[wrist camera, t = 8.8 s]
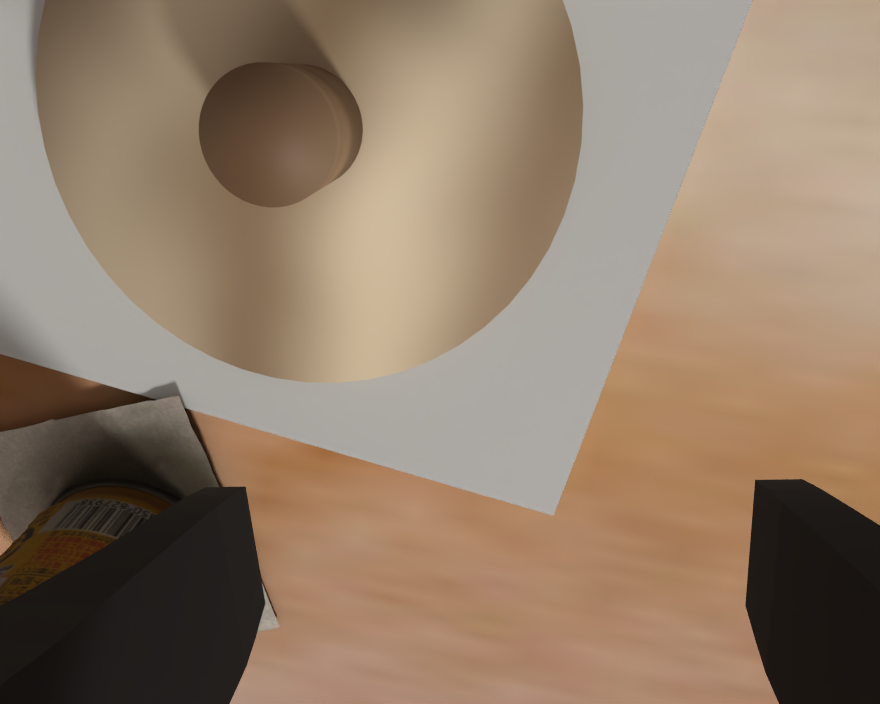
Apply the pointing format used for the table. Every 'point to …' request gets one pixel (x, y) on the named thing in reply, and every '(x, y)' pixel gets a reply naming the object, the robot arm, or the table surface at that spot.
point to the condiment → (93, 486)
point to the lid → (313, 167)
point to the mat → (462, 368)
